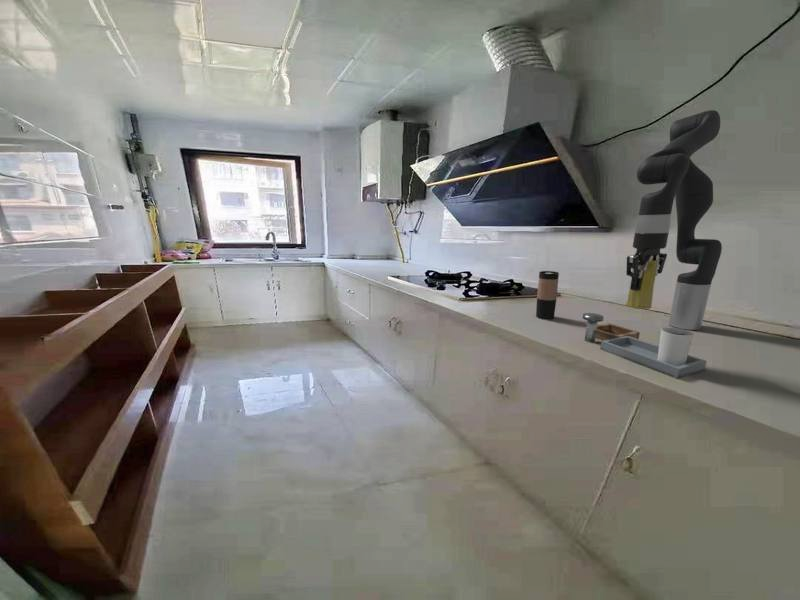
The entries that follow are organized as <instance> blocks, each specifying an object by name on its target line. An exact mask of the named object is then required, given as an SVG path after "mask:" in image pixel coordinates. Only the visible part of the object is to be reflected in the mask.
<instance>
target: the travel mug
mask: <svg viewBox="0 0 800 600" xmlns="http://www.w3.org/2000/svg"><path fill="white" fill-rule="evenodd" d="M559 275H560V273H559V271H554V270H553V271H552V270H543V271H542V270H541V271H539V275H538V281H537V282H538V283H537V293H536V294H537V295H536V306H535V308H536V310H535V317H536V318H537V317H538V319H539V320H545V319H547V320H548V321H549V320H550V321H551V320H553V319H555V318H554V317H555V315H556V314H555V312H556V306H557V305H556V304H557V297H558V287H559Z"/></svg>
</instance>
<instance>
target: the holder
mask: <svg viewBox="0 0 800 600" xmlns="http://www.w3.org/2000/svg"><path fill="white" fill-rule="evenodd" d="M640 333H641V332H639V331H636V330H633V329H630V328H626V327H624V326H620V325H616V324H612V323H609V322H608V323H602V324H597V330H596V337H595V339H596V340H600V341H604V340H609V339H614V338H618V337H623V336H630V337H633V338H636V339H639V340H640Z"/></svg>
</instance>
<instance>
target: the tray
mask: <svg viewBox="0 0 800 600" xmlns="http://www.w3.org/2000/svg"><path fill="white" fill-rule="evenodd" d="M600 342H601V343H600V349H599V350H602V351H604V352H606V353H609V354H612V355H615V356H617V357H620V358H622V359H625V360H627V361H630V362H633V363H636V364H637V365H640V366H644V367H646V368H648V369H650V370H653V371H656V372H658V373H661V374H663V375H666V376H668V377H672V378H675V380H676V379H680V378H684V377H687V376H690V375H693V374H696V373H697V374H698V373H701V372H703V371H705V370H706V366H707V362H708V361H707V360H705V359H702V358H700V357H696V356H692V355H690V354H688V356H687V360H686V363H685V364H684V365H681V366H674V365H671V364H668V363H665V362H662V361H660V360H657V358H658V351H659V344H654V343H651V342H648V341H645V340H642V339H640V338H639V339H636V338H633V337H630V336H623V337H618V338H614V339H609V340H604V341H603V340H600Z"/></svg>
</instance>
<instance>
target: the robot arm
mask: <svg viewBox="0 0 800 600" xmlns="http://www.w3.org/2000/svg"><path fill="white" fill-rule="evenodd" d="M720 129H721V115H720V113H719V112H718V111H717V110H716V109H715V110H714V109H710V110H706V111H702V112H700V113H696V114H693V115H690V116H685V117H684V118H680V119H676V120H675V121H674V122H672V123H671V126H670V129H669V143H668V144H667V145H665V146H664V147H663V148H662V150H659V151H657V152H655V153H653V154H652V155H650V156H648V157H646V158H645V159H644V160H642V162H641V163H640V165H639V166H638V168H637V171H636V179H637V180H638V182H639V183H640V184H641V185H645V186H646V185H647V186H649V185H658V184H665V185H664V187H663V188H662V189H660V190H658V191H655V192H650V193H647V194H644V195H643V196H642V197H641V200H640V205H639V209H638V217H637V220H636V223H635V228H634V229H635V230H634V234H633V235H634V237H633V242H632V247H633V248H634V249H636V252H635V253H634V255H627V257H626V271H625V272H626V276H627V277H628V276H629V277H630V278H631V280H630V285H631V286H630V285H629V290H630V289H631V290H635V291H638V290H640V285H641V279H642V278H641V277H642V275H643V273H644V271H646V270H647V268H648V263H649V261H656V260H658V265H657V270H656V274H655V277H657V276H658V274H660V275H661V274H662V272H663V270H664V266H665V263H666V260H667V256H668V254H667V253H664V252H663V253H662V252H661V250H663V249H666V248H667V244H668V240H669V233H670V227H671V220H672V218H671V216H672V215H671V214H672V211H673V205H674V201H675V209H676V220H677V221H676V223H677V225H676V226H677V231H676V232H677V234H676V249H675V250H676V251H675V252H676V259H677V261H678V262H680V263H681V264H686V265H687V264H688V265H696V266H697V265H698V266H697V267H696V269H695V270H693V271H690V272H683V273H680V274H678V275H677V279H676V284H675V289H674V295H673V299H672V304H671V309H670V312H669V313H670V315H669V320H668V325H669V326H671V327H672V328H679V329H683V330H687V331H699V330H701V329H702V325H703V320H704V317H705V313H706V308H707V303H708V300H709V296H710V295H709V294H710V292H711V291H710V290H711V285H712V282H713V279H714V277H715V274H716V272H717V267H718V266H719V265H718V264H719V262H720V261H719V260H720V258H721V254H722V250H723V249H722V247H723V246H722V242H721V241H720V240H719V239H713V238H711V239H710V238H709V239H707V238H696V237H695V231H696V227H697V225H698V224H699V222H700V220H701V219H702V218H703V217H704V216H705V214H707V212H708V211H709V210H710V208H711V207H712V205H713V202H714V184H713V180H712V179H711V178H710V177H709V176H708V174H706V173H705V171H703V170H702V169H700V168H699V167H698V166H697V165H696V164H695V163H694V162H693V161H692V159H691V157H692V156H693V154H695V153H696V152H697V151H699V150H700V149H702V148H703V147H704V146H706V145H707V144H709V143H710V142H712V141H714V140H715V139H716V138H717V136H718V134H719V132H720ZM645 261H646V262H645ZM638 265H644V266H643V267H638ZM638 270H640V271H639V273H638Z"/></svg>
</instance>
